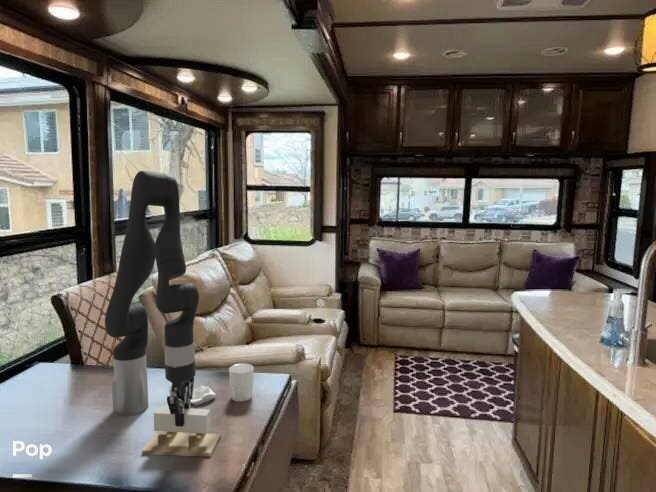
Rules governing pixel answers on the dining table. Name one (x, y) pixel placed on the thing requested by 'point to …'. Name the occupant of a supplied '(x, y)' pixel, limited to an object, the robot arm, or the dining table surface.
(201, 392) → the rose
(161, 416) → the white rectangular block
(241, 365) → the white cup
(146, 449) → the rack
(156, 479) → the dining table surface
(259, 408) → the dining table surface
